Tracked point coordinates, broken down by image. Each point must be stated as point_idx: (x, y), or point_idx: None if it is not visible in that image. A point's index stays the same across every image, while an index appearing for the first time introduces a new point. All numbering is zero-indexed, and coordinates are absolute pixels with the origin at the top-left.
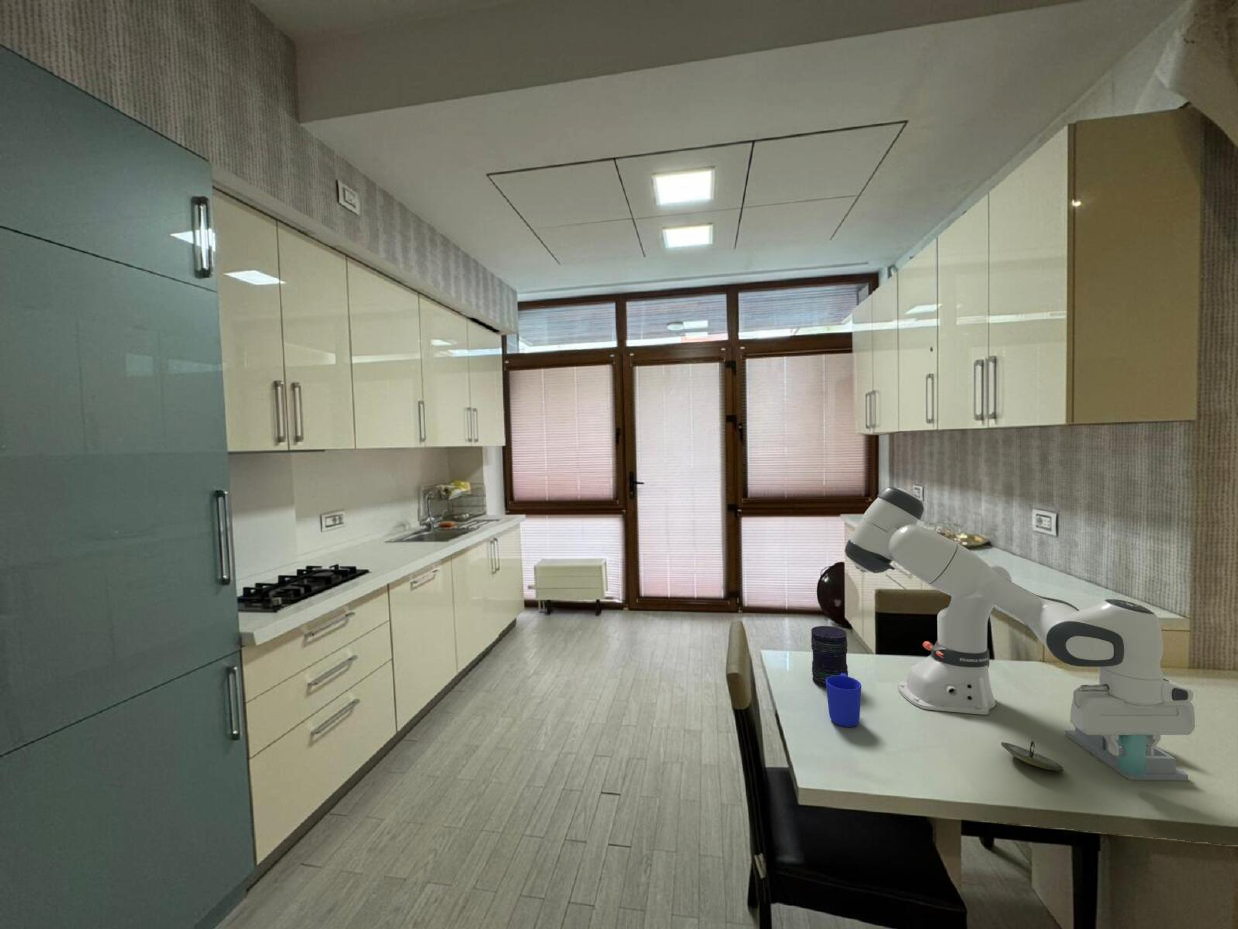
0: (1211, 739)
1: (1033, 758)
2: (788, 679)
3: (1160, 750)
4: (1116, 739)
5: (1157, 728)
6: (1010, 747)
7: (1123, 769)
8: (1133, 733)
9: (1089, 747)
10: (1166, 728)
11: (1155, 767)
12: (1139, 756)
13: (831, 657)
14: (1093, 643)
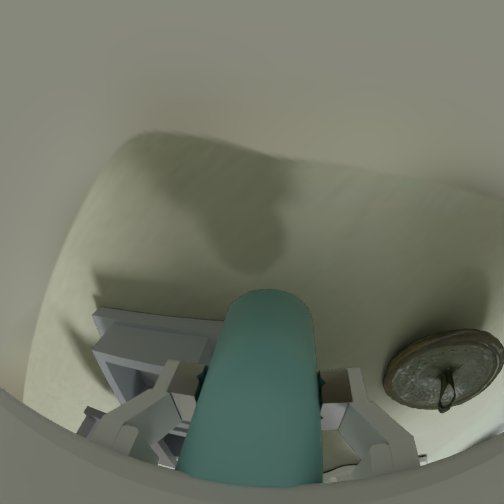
0: (39, 374)
1: (434, 375)
2: None
3: (108, 379)
4: (382, 444)
5: (90, 488)
6: (464, 392)
7: (312, 323)
8: (287, 497)
9: None
10: (44, 461)
11: (151, 342)
12: (266, 356)
13: None
14: None
